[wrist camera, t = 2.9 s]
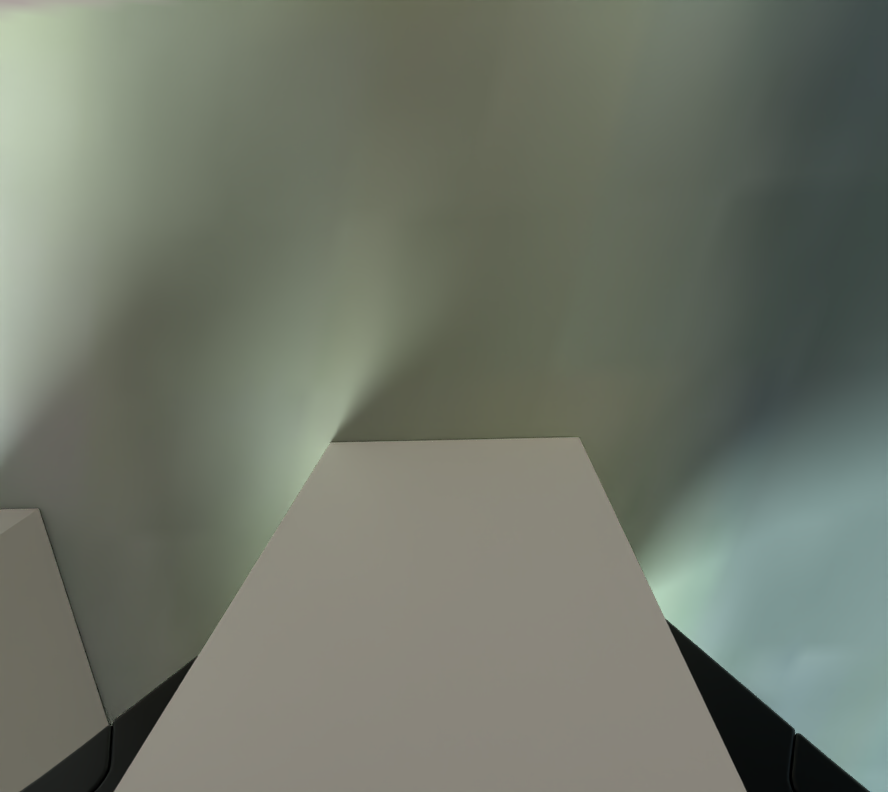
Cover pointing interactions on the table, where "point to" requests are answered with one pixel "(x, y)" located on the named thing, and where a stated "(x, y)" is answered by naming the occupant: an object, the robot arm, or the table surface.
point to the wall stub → (39, 658)
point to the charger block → (441, 641)
